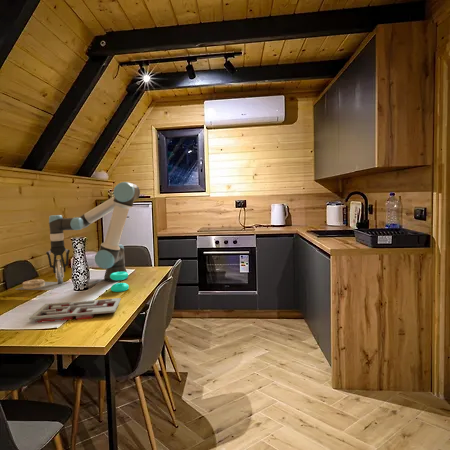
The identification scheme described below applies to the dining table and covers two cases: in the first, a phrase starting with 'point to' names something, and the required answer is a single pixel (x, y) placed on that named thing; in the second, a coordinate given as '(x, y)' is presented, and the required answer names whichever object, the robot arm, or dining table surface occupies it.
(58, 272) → the peg
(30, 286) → the tan faceted ring
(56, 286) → the board
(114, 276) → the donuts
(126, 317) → the dining table surface
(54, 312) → the maze game
